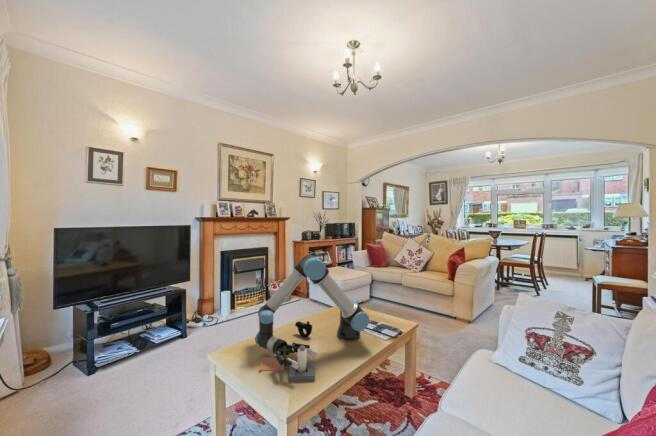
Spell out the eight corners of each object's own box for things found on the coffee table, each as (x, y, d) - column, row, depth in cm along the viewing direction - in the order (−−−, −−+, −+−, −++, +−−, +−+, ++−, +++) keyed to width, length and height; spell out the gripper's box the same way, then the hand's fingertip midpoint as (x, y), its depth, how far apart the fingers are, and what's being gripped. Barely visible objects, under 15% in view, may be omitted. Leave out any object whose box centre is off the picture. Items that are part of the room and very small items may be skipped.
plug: (306, 371, 137) (306, 344, 137) (306, 376, 133) (307, 348, 132) (297, 371, 137) (297, 344, 136) (297, 376, 132) (297, 348, 132)
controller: (309, 339, 173) (309, 323, 172) (293, 334, 179) (294, 319, 179) (313, 337, 176) (313, 321, 176) (298, 332, 183) (298, 317, 183)
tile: (284, 358, 150) (284, 356, 150) (283, 371, 138) (283, 369, 138) (262, 359, 148) (262, 357, 148) (258, 372, 136) (259, 370, 136)
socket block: (313, 367, 141) (313, 362, 141) (314, 382, 129) (314, 375, 129) (289, 368, 140) (289, 362, 140) (288, 383, 128) (289, 376, 128)
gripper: (294, 344, 155) (323, 357, 142) (258, 362, 136) (288, 379, 123) (294, 331, 155) (323, 343, 142) (258, 347, 136) (288, 362, 123)
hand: (307, 360), depth 132 cm, fingers open, 12 cm apart
